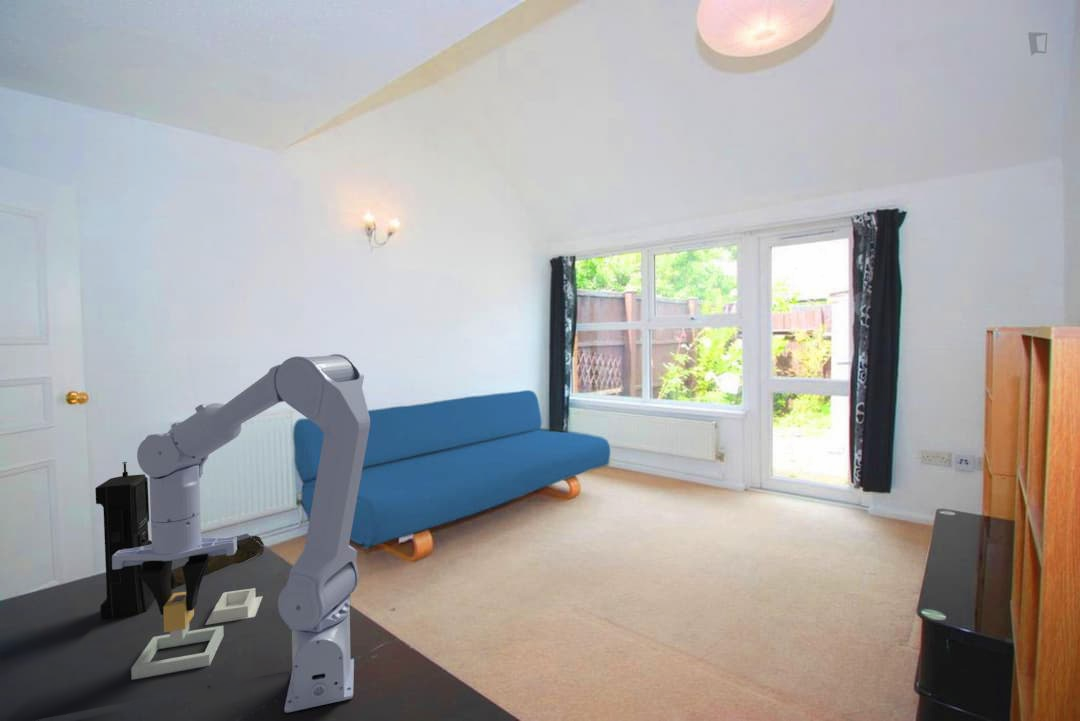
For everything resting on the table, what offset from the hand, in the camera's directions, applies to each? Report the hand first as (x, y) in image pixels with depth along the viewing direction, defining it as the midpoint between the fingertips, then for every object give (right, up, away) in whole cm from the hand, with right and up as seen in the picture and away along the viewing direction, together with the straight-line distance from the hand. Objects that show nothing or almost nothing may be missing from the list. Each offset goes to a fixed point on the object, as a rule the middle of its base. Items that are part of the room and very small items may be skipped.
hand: (179, 609), depth 73 cm
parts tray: (0, -8, 0) cm, 8 cm away
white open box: (+1, -7, +13) cm, 15 cm away
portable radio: (-18, -7, +13) cm, 23 cm away
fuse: (0, -4, 0) cm, 4 cm away
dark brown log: (-13, -7, +29) cm, 32 cm away
